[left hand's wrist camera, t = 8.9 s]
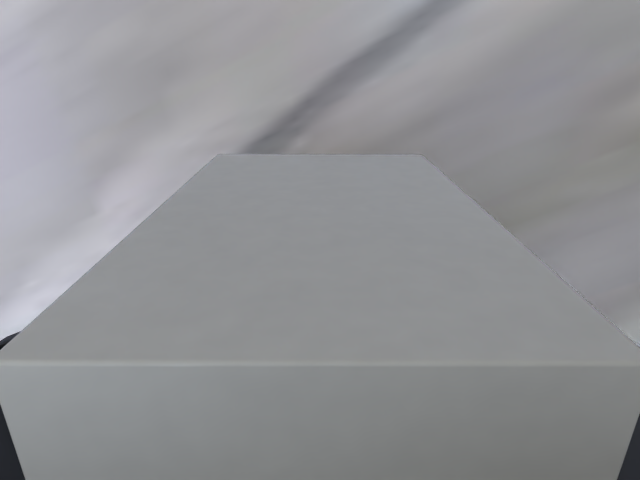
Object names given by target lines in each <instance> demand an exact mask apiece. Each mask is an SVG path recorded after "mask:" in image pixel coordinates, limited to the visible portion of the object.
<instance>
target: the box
mask: <svg viewBox="0 0 640 480" xmlns="http://www.w3.org/2000/svg"><path fill="white" fill-rule="evenodd" d="M0 405H1V408H2V411H3V414H4V417H5V420H6V423H7V426H8V429H9V432H10V435H11V438H12V441H13V444H14V447H15V450H16V453H17V456H18V459H19V462H20V465H21V468H22V471H23V474H24V477H25V480H617V478H618V475H619V472H620V470H621V467H622V464H623V461H624V458H625V455H626V452H627V449H628V446H629V443H630V440H631V437H632V434H633V431H634V429H635V426H636V423H637V420H638V417H639V414H640V348H639V347H638V346H637V345H636V344H635V343H634V342H633V341H632V340H630V339H629V338H628V337H627V336H626V335H625V334H624V333H623V332H621V331H620V330H619V329H618V328H617V327H616V326H615V325H614V324H612V323H611V322H610V321H609V320H608V319H607V318H606V317H605V316H603V315H602V314H601V313H600V312H599V311H598V310H597V309H596V308H594V307H593V306H592V305H591V304H590V303H589V302H588V301H587V300H585V299H584V298H583V297H582V296H581V295H580V294H579V293H577V292H576V291H575V290H574V289H573V288H572V287H571V286H570V285H568V284H567V283H566V282H565V281H564V280H563V279H562V278H561V277H559V276H558V275H557V274H556V273H555V272H554V271H553V270H552V269H550V268H549V267H548V266H547V265H546V264H545V263H544V262H543V261H541V260H540V259H539V258H538V257H537V256H536V255H535V254H534V253H532V252H531V251H530V250H529V249H528V248H527V247H526V246H525V245H523V244H522V243H521V242H520V241H519V240H518V239H517V238H515V237H514V236H513V235H512V234H511V233H510V232H509V231H508V230H506V229H505V228H504V227H503V226H502V225H501V224H500V223H499V222H497V221H496V220H495V219H494V218H493V217H492V216H491V215H490V214H488V213H487V212H486V211H485V210H484V209H483V208H482V207H481V206H479V205H478V204H477V203H476V202H475V201H474V200H473V199H472V198H470V197H469V196H468V195H467V194H466V193H465V192H464V191H463V190H461V189H460V188H459V187H458V186H457V185H456V184H455V183H453V182H452V181H451V180H450V179H449V178H448V177H447V176H446V175H444V174H443V173H442V172H441V171H440V170H439V169H438V168H437V167H435V166H434V165H433V164H432V163H431V162H430V161H429V160H428V159H426V158H425V157H424V156H423V155H421V154H218V155H217V156H216V157H215V158H213V159H212V160H211V161H210V162H209V163H208V164H207V165H206V166H205V167H203V168H202V169H201V170H200V171H199V172H198V173H197V174H196V175H194V176H193V177H192V178H191V179H190V180H189V181H188V182H187V183H186V184H184V185H183V186H182V187H181V188H180V189H179V190H178V191H177V192H176V193H174V194H173V195H172V196H171V197H170V198H169V199H168V200H167V201H166V202H164V203H163V204H162V205H161V206H160V207H159V208H158V209H157V210H156V211H154V212H153V213H152V214H151V215H150V216H149V217H148V218H147V219H146V220H144V221H143V222H142V223H141V224H140V225H139V226H138V227H137V228H136V229H134V230H133V231H132V232H131V233H130V234H129V235H128V236H127V237H125V238H124V239H123V240H122V241H121V242H120V243H119V244H118V245H117V246H115V247H114V248H113V249H112V250H111V251H110V252H109V253H108V254H107V255H105V256H104V257H103V258H102V259H101V260H100V261H99V262H98V263H97V264H95V265H94V266H93V267H92V268H91V269H90V270H89V271H88V272H87V273H85V274H84V275H83V276H82V277H81V278H80V279H79V280H78V281H77V282H75V283H74V284H73V285H72V286H71V287H70V288H69V289H68V290H67V291H65V292H64V293H63V294H62V295H61V296H60V297H59V298H58V299H56V300H55V301H54V302H53V303H52V304H51V305H50V306H49V307H48V308H46V309H45V310H44V311H43V312H42V313H41V314H40V315H39V316H38V317H36V318H35V319H34V320H33V321H32V322H31V323H30V324H29V325H28V326H26V327H25V328H24V329H23V330H22V331H21V332H20V333H19V334H18V335H16V336H15V337H14V338H13V339H12V340H11V341H10V342H9V343H8V344H6V345H5V346H4V347H3V348H2V349H1V350H0Z"/></svg>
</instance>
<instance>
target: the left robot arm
mask: <svg viewBox="0 0 640 480" xmlns="http://www.w3.org/2000/svg"><path fill="white" fill-rule="evenodd" d="M20 332H21V331H20ZM20 332H18V333H15V334H13V335H10V336H8V337H6V338H4V339H3V340H1V341H0V350H1V349H2V348H3V347H4V346H5V345H6V344H8V343H9V342H10V341H11V340H12V339H13V338H14V337H15V336H16V335H18V334H19V333H20ZM0 480H25V477H24V474H23V471H22V468H21V465H20V462H19V459H18V456H17V453H16V450H15V447H14V444H13V441H12V438H11V435H10V432H9V429H8V426H7V423H6V420H5V417H4V414H3V411H2V408H1V405H0ZM617 480H640V414H639V417H638V420H637V423H636V426H635V429H634V431H633V434H632V437H631V440H630V443H629V446H628V449H627V452H626V455H625V458H624V461H623V464H622V467H621V470H620V472H619V475H618V478H617Z"/></svg>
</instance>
